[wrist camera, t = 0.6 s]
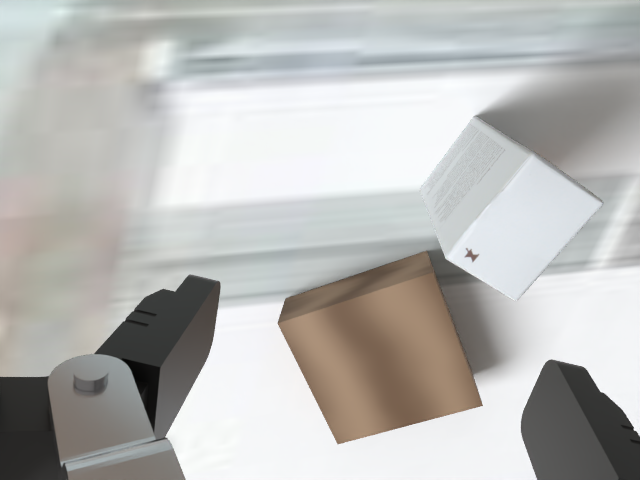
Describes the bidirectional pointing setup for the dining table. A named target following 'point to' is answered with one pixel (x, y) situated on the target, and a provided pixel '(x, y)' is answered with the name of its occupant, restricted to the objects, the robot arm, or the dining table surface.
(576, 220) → the skincare box
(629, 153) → the dining table surface
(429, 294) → the walnut block
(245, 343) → the dining table surface
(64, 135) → the dining table surface
